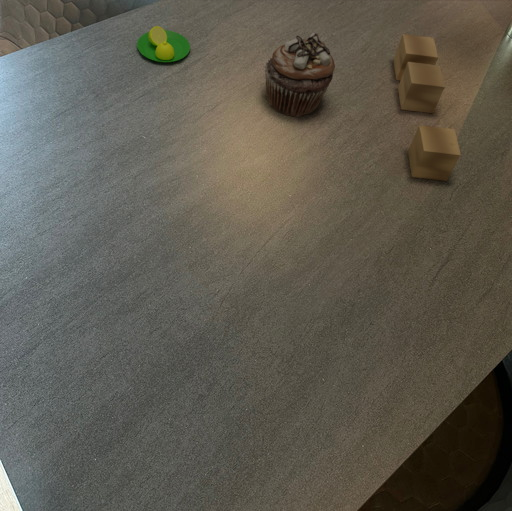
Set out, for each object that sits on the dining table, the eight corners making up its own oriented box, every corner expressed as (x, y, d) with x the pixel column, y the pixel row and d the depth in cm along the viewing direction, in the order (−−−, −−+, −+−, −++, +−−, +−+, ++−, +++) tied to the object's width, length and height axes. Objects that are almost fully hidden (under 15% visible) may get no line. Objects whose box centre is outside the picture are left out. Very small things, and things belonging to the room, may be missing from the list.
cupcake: (301, 71, 97) (313, 13, 89) (337, 110, 92) (354, 52, 84) (248, 87, 93) (256, 27, 85) (283, 128, 89) (296, 69, 81)
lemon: (125, 47, 95) (125, 30, 93) (163, 27, 99) (163, 11, 97) (163, 72, 93) (163, 56, 90) (200, 50, 97) (201, 34, 95)
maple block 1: (423, 64, 102) (433, 37, 98) (427, 84, 99) (438, 57, 95) (393, 60, 102) (402, 33, 98) (396, 80, 99) (406, 53, 95)
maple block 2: (428, 92, 98) (440, 65, 94) (433, 113, 95) (445, 86, 91) (397, 88, 97) (407, 61, 93) (400, 109, 94) (411, 82, 90)
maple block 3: (441, 155, 89) (454, 129, 85) (446, 181, 86) (460, 155, 82) (407, 151, 89) (419, 124, 85) (411, 177, 86) (423, 150, 82)
